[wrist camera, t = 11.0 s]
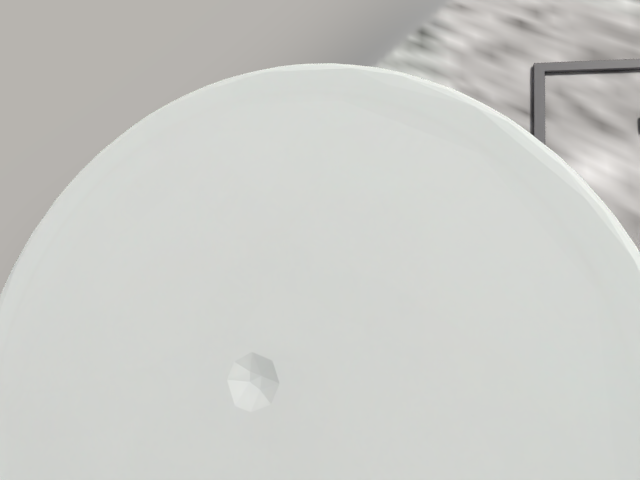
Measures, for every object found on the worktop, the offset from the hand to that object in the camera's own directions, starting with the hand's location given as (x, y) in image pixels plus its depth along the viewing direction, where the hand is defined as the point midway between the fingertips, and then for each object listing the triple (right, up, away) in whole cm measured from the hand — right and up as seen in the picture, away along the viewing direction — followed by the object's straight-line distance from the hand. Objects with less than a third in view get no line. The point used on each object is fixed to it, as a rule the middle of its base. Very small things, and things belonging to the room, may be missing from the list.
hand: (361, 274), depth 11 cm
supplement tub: (+1, -4, +7) cm, 9 cm away
